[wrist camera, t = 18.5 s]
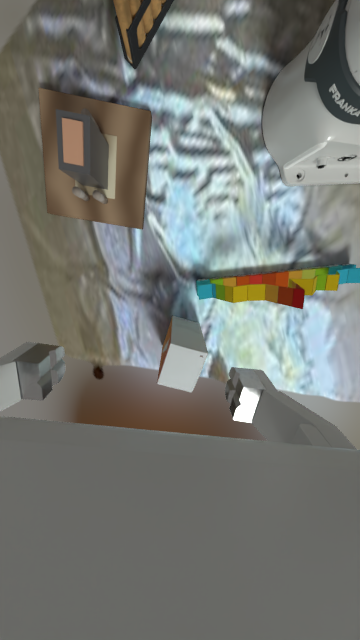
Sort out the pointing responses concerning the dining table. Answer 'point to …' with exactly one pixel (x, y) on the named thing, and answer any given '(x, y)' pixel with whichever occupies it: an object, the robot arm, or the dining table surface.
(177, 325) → the small box
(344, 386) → the dining table surface
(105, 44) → the dining table surface
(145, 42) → the ammunition clip
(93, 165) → the plug block
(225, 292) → the chart
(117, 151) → the board
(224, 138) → the dining table surface
